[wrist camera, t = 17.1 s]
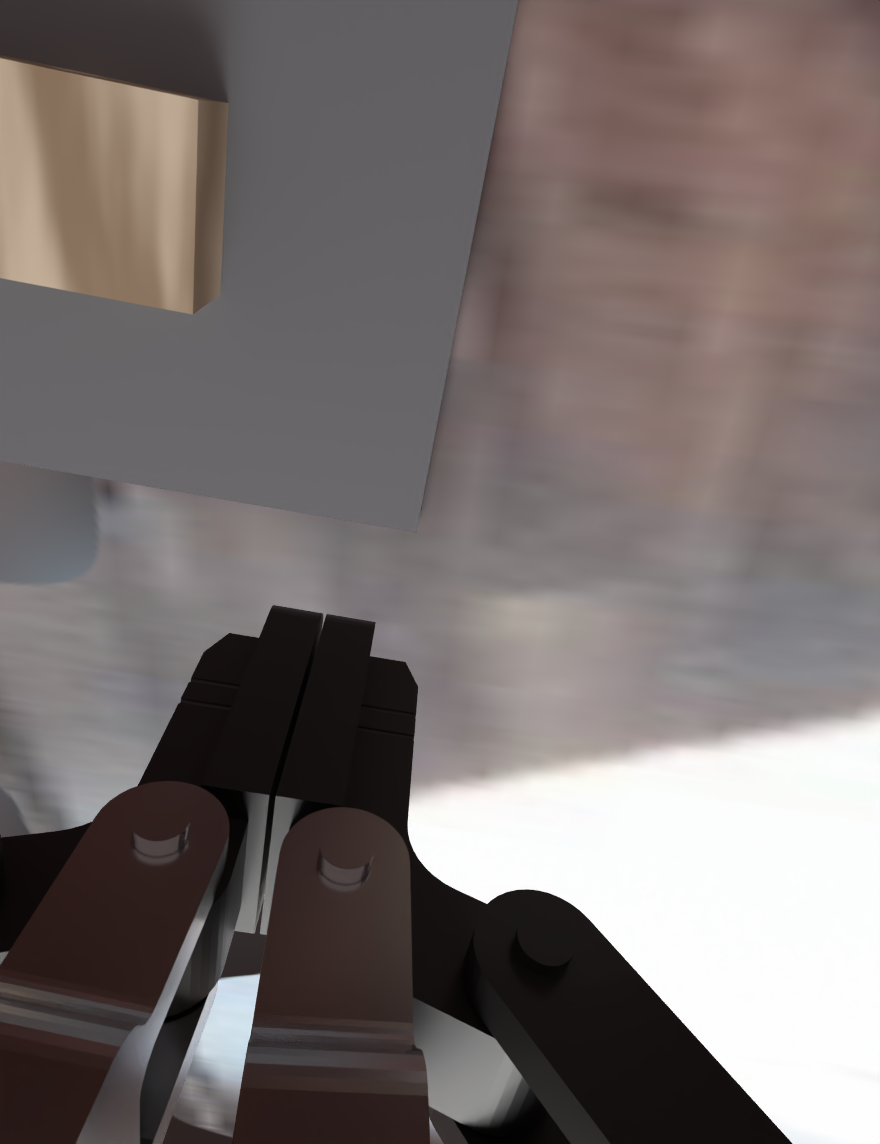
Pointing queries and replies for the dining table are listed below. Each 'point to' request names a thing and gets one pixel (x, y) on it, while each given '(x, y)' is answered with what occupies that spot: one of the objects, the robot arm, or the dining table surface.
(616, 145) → the dining table surface
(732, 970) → the dining table surface
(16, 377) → the mat
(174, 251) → the block
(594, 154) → the dining table surface
